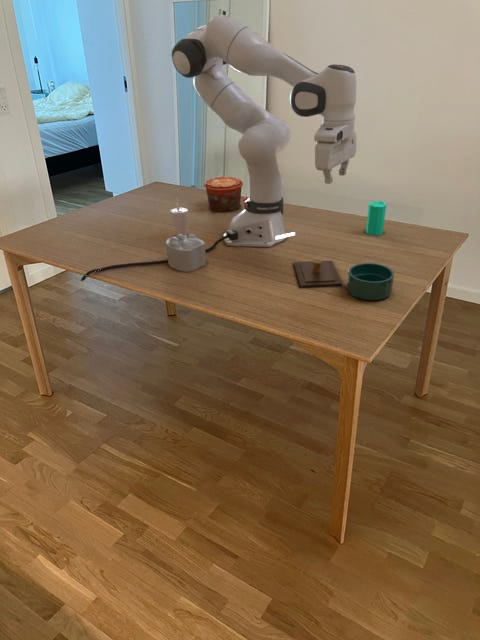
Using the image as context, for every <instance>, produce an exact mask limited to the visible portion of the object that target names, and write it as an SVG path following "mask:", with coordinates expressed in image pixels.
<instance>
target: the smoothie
mask: <svg viewBox="0 0 480 640" xmlns="http://www.w3.org/2000/svg"><path fill="white" fill-rule="evenodd" d="M175 202H176V207H173V208H172V209H170V210H169V213H170V216H171V219H172V223H173V227H174V232H175V235H176V236H177V235H179V234H182V235H184V236H187V233H188V232H187V231H188V213H189V210H188V208H187V207H179V199H178V198H175Z"/></svg>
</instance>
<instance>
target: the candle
mask: <svg viewBox="0 0 480 640" xmlns="http://www.w3.org/2000/svg"><path fill="white" fill-rule="evenodd" d="M386 209H387V202H384V201H380V200H376V201H373V202H369V203H368V210H367V218H366V229H365V233H366V234H367V235H370V236H381V235H383V234H384V227H385V218H386Z"/></svg>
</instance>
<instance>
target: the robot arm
mask: <svg viewBox="0 0 480 640" xmlns="http://www.w3.org/2000/svg"><path fill="white" fill-rule="evenodd" d="M171 60H172V64H173V66H174V68H175V70H176V71H177V72H178V73H179V75H181V76H182V77H184V78H187V79H191V78H193V87H194V89H195V91H196V92H197V94H198V95H199V97H200V98H201V99H202V101H203V102H204V103H205V105H206V106H207V107H208V108H209V109H210V110H211V111H212V112H213V113H214V114H215V115H216V116H217V117H218V118H219V119H220V120H221V121H222V122H223V124H225V126H227V127H228V128H229V129H231V130H234V131H236V132H238V133H240V134H242V135H241V136H240V138H239V139H238V146H237V149H238V152H239V154H240V156H241V158H242V159H243V160H244V161H245V164H246V168H247V172H248V179H249V197H248V196H244V197H243V198H242V202H243V204H244V209H243V210H241V211H240V212H239V213H238V214H236V215H235V216H233V217H232V219H231V221H230V224H229V228H228V229H227V230H226V231H225V232H224V233H223V236H222V237H220V238H219V239H217V240H216V241H215V242H214V243H213V245H211V246H210V247H209V248H205V254H207V253H208V252H210V251H212V250H213V249H215V248H216V247H217V246H218V245H219V243H221V242H224V243H225V244H226V245H227V246H229V247H230V246H231V247H256V248H257V247H259V248H262V247H263V248H270V247H273V246H274V245H276V244H278V243H282V242H283V241H284V240H286V238H287V237H288V238H289V237H292V236H296V232H295V231H293V232H289V233H287V232H286V229H285V223H284V216H283V215H284V211H285V210H284V209H285V206H284V205H285V203H284V202H285V201H284V197H283V174H282V172H281V171H280V169H279V164H278V159H277V156H278V153H280V152H281V151H283V150H284V149H285V148H286V147H287V145H288V144H289V142H290V139H291V136H292V135H291V127H290V126H289V124H288V123H287V122H286V121H285V120H283V119H281V118H278V117H277V116H275V115H273V114H272V113H270V112H269V111H268V110H267V109H265V108H263V107H262V106H261V105H259V104H258V103H256V102H255V101H254V100H252V99H251V98H250V96H248V94H246V93H245V92H244V91H243V89H242V88H241V87H240V86H238V84H237V83H236V82H234V80H233V79H232V78H231V77H229V75H228V74H226V72H225V70H224V65H229V66H230V67H231V68H232V69H234V70H235V71H238V72H239V73H242V74H244V75H247V76H251V77H253V76H254V77H272V78H276V79H278V80H279V79H280V80H282V81H284V82H285V83H286V84H288V85H290V86H292V89H291V91H290V94H289V103H290V106H291V109H292V111H293V112H294V114H296V115H297V116H299V117H301V118H302V117H305V118H309V117H310V118H311V117H313V116H317V115H320V116H322V122H321V124H320V127H319V128H318V129H317V130H316V131H315V132H314V136H313V139H314V142H316V143H315V147H314V167H315V169H316V170H317V171H322V173H323V176H324V183H325V184H326V185H330V184H332V183H333V182H334V181H333V180H334V176H332V172H333V168H335V167H337V166H339V165H340V168H339V169H338V175H339V176H343V177H344V176H345V175H347V169H348V167H349V163H350V159H352V158H354V157H355V156H356V153H357V132H356V131H355V121H356V116H355V115H356V114H355V106H356V102H357V76H356V75H357V74H356V71H355V70H354V69H353V68H352V67H350V66H348V65H345V64H329V65H327V67H325V68H324V69H323V70H322V71H320V72H316V71H313V70H312V69H311V68H308V67H307V66H305V65H304V64H302V63H301V62H299V61H298V60H296V59H294V58H293V57H291V56H290V55H288V54H287V53H284V52H283V51H281V50H280V49H279V48H277V47H276V46H274V45H273V44H272V43H270V42H269V41H267V39H265V38H264V37H262V36H261V35H260V34H258V33H257V32H256V31H254V30H253V29H252V28H250V27H249V26H247V25H246V24H245V23H243V22H241V21H240V20H237V19H235V18H233V17H232V16H229V15H226V14H224V13H223V14H217V15H215V16H213V17H212V18H211V19H210V20H209V22H207V23H206V24H205V25H201V26H199V27H198V28H196V29H194V30H193V31H191V32H190V33H189V34H187V35H186V36H185V37H184V38H182V39H180V40H179V41H177V42H176V44H175V45H174V46H173V48H172V50H171ZM159 264H168V259H162V260H154V261H153V260H152V261H142V262H141V261H140V262H129V263H121V264H113V265H112V264H111V265H108V266H103V267H100V268H94V269H91V270H88V271H87V272H85V274H84V275H82V277H81V279H80V281H81V282H84V281H85V280H86V279H87V277H88V276H90V275H91V274H93V272H94V273H99V272H105V271H107V270H112V269H119V268H127V267H137V266H150V265H159ZM100 269H101V270H100ZM98 270H99V271H98ZM95 271H96V272H95ZM85 275H87V276H85Z"/></svg>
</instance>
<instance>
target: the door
mask: <svg viewBox="0 0 480 640" xmlns="http://www.w3.org/2000/svg"><path fill="white" fill-rule="evenodd" d="M293 267H294V270H295V273H296V277H297V280H298V285H299V288H300V289H304V288H327V287H342V285H343V284H342V281H341V279H340V277H339V275H338V272H337V270H336V267H335V265H334V263H333V261H332V260H320V259H315V260H313V261H312V260H311V261H294V262H293Z"/></svg>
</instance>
